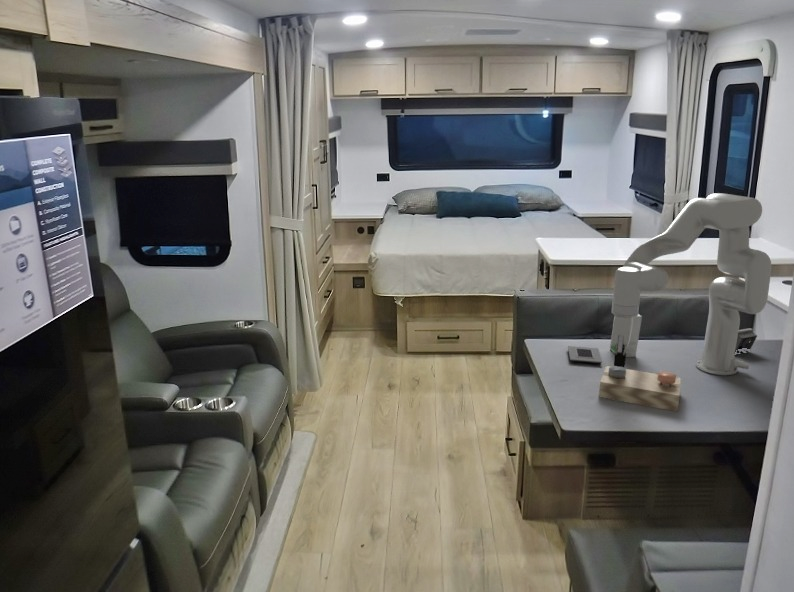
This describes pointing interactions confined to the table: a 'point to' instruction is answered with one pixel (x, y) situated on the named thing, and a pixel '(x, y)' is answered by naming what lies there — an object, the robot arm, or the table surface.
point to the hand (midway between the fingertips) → (619, 365)
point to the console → (640, 389)
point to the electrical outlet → (584, 354)
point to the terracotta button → (666, 378)
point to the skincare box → (632, 338)
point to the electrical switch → (745, 339)
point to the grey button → (617, 372)
